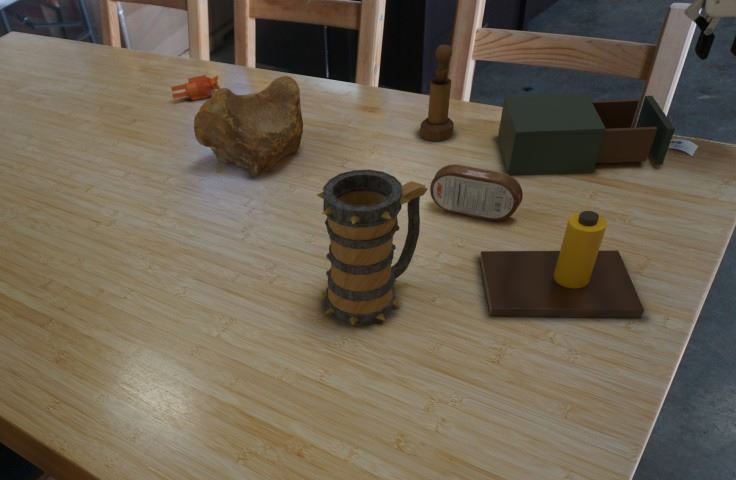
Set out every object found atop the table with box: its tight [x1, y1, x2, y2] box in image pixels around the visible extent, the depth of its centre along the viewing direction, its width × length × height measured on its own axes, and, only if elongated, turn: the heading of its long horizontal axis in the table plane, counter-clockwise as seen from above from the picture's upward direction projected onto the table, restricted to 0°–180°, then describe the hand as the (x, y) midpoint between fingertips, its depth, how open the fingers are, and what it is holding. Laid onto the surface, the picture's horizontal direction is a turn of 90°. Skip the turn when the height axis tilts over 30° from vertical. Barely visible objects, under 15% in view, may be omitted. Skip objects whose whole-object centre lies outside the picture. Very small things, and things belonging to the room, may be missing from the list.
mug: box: [315, 169, 429, 326], centre depth 97 cm, size 13×17×20 cm
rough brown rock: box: [193, 75, 304, 177], centre depth 135 cm, size 23×17×15 cm
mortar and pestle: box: [419, 43, 455, 142], centre depth 133 cm, size 7×6×18 cm
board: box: [479, 249, 645, 319], centre depth 100 cm, size 20×14×2 cm
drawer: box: [591, 95, 676, 166], centre depth 123 cm, size 15×13×7 cm
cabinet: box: [497, 92, 606, 176], centre depth 125 cm, size 15×15×9 cm
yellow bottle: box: [554, 210, 608, 288], centre depth 96 cm, size 5×5×11 cm
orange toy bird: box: [170, 74, 221, 101], centre depth 166 cm, size 5×8×12 cm
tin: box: [429, 163, 524, 222], centre depth 114 cm, size 15×3×8 cm, turn 58°
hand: (718, 54), depth 112 cm, fingers open, 4 cm apart
